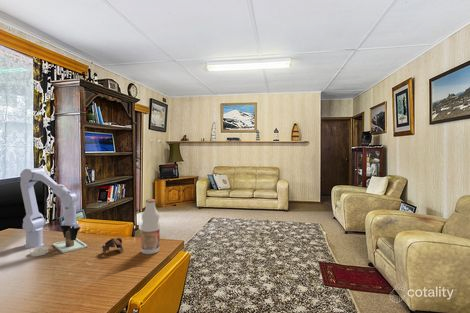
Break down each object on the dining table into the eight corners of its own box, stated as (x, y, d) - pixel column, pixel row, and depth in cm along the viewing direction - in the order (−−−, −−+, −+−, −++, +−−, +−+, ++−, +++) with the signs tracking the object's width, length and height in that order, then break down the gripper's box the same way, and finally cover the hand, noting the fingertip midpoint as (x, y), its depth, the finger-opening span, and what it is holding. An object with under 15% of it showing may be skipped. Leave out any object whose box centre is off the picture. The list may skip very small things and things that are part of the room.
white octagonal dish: (29, 254, 134) (29, 249, 134) (45, 250, 140) (45, 245, 140) (32, 258, 129) (32, 253, 129) (49, 254, 135) (49, 249, 135)
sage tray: (52, 245, 146) (52, 243, 146) (76, 240, 155) (76, 238, 155) (62, 254, 135) (62, 251, 135) (87, 248, 144) (87, 245, 144)
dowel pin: (64, 245, 144) (64, 231, 144) (71, 243, 148) (71, 230, 148) (67, 247, 142) (67, 233, 142) (75, 245, 146) (75, 231, 145)
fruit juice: (137, 251, 139) (138, 199, 139) (153, 246, 146) (153, 197, 146) (147, 256, 133) (147, 202, 133) (163, 251, 140) (163, 199, 140)
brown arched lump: (120, 256, 134) (111, 244, 132) (105, 263, 135) (96, 251, 133) (130, 242, 145) (121, 231, 143) (116, 249, 147) (108, 237, 145)
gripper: (55, 214, 145) (55, 238, 145) (68, 217, 138) (68, 243, 138) (69, 211, 151) (69, 235, 151) (82, 215, 144) (82, 239, 144)
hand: (70, 238), depth 145 cm, fingers open, 7 cm apart
